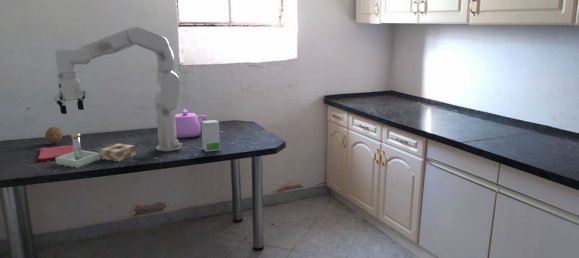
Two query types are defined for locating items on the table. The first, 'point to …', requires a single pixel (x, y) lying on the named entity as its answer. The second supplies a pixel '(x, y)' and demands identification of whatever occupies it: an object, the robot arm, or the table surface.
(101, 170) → the table surface
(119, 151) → the hitch block
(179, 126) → the teapot
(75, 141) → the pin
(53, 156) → the dish towel
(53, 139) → the natural sponge
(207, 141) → the skincare box
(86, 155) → the tray
